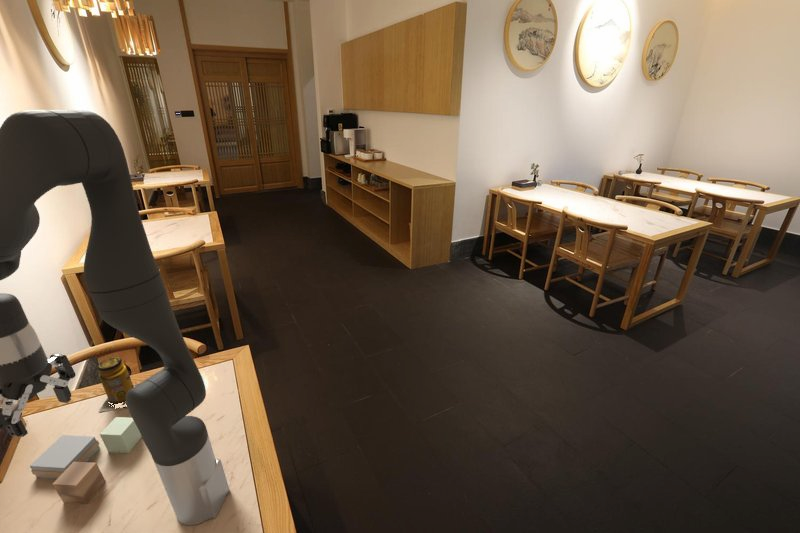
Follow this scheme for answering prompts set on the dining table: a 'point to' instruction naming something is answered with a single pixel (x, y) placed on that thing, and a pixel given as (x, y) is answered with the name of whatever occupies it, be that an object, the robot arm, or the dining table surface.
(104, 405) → the condiment
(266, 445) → the dining table surface
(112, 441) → the sage block
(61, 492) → the walnut block
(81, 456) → the slate base
